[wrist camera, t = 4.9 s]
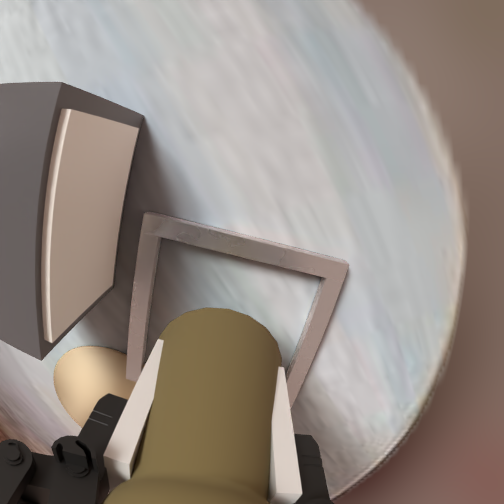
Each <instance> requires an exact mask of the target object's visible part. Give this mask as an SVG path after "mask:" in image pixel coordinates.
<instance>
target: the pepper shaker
mask: <svg viewBox="0 0 504 504" xmlns="http://www.w3.org/2000/svg"><path fill="white" fill-rule="evenodd" d="M159 339H160V340H164V342H163V347H162V352H161V358H160V363H159V369H158V374H157V380H156V386H155V392H154V399H153V402H152V405H151V408H150V412H149V415H148V418H147V422H146V425H145V428H144V432H143V435H142V438H141V442H140V445H139V449H138V452H137V456H136V460H135V463H134V467H133V470H132V476H131V479H129V480H127V481H125V482H123V483H121V484H120V485H118V486H117V487H116V488H114V489H113V490H111V492H110V493H109V494H108V495H107V497H106V498H105V499H104V500H103V502H102V503H101V504H270V503H269V502H268V501H267V498H268V490H269V480H270V453H271V421H272V414H273V406H274V399H275V391H276V383H277V375H278V367H281V362H282V358H281V354H280V351H279V347H278V344H277V342H276V340H275V339H274V338H273V336H272V335H271V334H270V332H269V331H268V330H267V328H266V327H264V326H263V325H261V324H260V323H259V322H257V321H256V320H254V319H253V318H251V317H250V316H248V315H245V314H242V313H239V312H236V311H233V310H230V309H222V308H203V309H198V310H194V311H190V312H186V313H184V314H183V315H181V316H179V317H178V318H176V319H174V320H173V321H171V322H170V323H169V324H168V326H167V327H166V328H165V329H164V331H163V332H162V333H161V335H160V337H159Z"/></svg>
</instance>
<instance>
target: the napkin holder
mask: <svg viewBox="0 0 504 504" xmlns="http://www.w3.org/2000/svg"><path fill="white" fill-rule="evenodd" d="M143 116H144V115H141V114H139V113H137V112H135V111H132V110H130V109H128V108H125V107H123V106H121V105H118V104H116V103H113V102H111V101H109V100H106V99H104V98H101V97H99V96H96V95H94V94H91V93H89V92H86V91H84V90H81V89H79V88H76V87H73V86H71V85H68V84H65V83H63V82H26V83H6V84H0V340H2V341H4V342H6V343H8V344H9V345H11V346H13V347H15V348H17V349H19V350H21V351H23V352H25V353H27V354H29V355H31V356H33V357H35V358H37V359H39V360H41V361H42V360H43V359H44V357H45V356H46V355H47V354H48V353H49V352H50V351H51V350H52V349H53V348H54V347H55V346H56V345H57V344H58V343H59V342H60V341H61V340H62V338H63V337H64V336H65V335H66V334H67V333H68V332H69V331H70V330H71V329H72V328H73V327H74V326H75V325H76V324H77V323H78V322H79V321H80V320H81V319H82V318H83V317H84V316H85V315H86V314H87V313H88V312H89V311H90V310H91V309H92V308H93V307H94V306H95V305H96V304H97V303H98V302H99V301H100V300H101V299H102V298H103V297H105V296H106V295H107V294H108V293H109V292H110V291H111V290H112V289H113V288H114V277H115V267H116V258H117V250H118V242H119V235H120V228H121V221H122V215H123V209H124V203H125V197H126V192H127V186H128V181H129V176H130V171H131V166H132V162H133V157H134V153H135V148H136V144H137V140H138V136H139V131H140V127H141V124H142V120H143Z"/></svg>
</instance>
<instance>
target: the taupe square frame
mask: <svg viewBox="0 0 504 504" xmlns="http://www.w3.org/2000/svg"><path fill="white" fill-rule="evenodd" d="M162 238H166V239H170V240H174V241H178V242H182V243H186V244H190V245H194V246H198V247H202V248H206V249H210V250H214V251H218V252H222V253H227V254H231V255H235V256H239V257H243V258H247V259H251V260H255V261H259V262H263V263H267V264H271V265H275V266H279V267H283V268H288V269H292V270H296V271H300V272H304V273H308V274H312V275H316V276H320V277H322V278H321V281H320V284H319V287H318V290H317V293H316V295H315V298H314V301H313V304H312V307H311V310H310V312H309V315H308V318H307V321H306V323H305V326H304V329H303V331H302V334H301V337H300V339H299V342H298V345H297V347H296V350H295V352H294V355H293V358H292V360H291V363H290V365H289V368H288V370H287V373H286V375H285V378H286V384H287V391H288V397H289V404H290V410H291V407H292V405H293V403H294V401H295V399H296V397H297V395H298V392H299V390H300V388H301V386H302V384H303V381H304V379H305V377H306V375H307V372H308V370H309V368H310V365H311V363H312V361H313V358H314V356H315V354H316V351H317V349H318V346H319V344H320V342H321V339H322V337H323V334H324V332H325V329H326V327H327V324H328V322H329V319H330V316H331V314H332V311H333V309H334V306H335V303H336V301H337V298H338V295H339V292H340V290H341V287H342V284H343V281H344V279H345V276H346V273H347V270H348V267H349V264H348V263H347V262H346V261H345V260H342V259H338V258H334V257H330V256H327V255H323V254H319V253H315V252H311V251H307V250H303V249H299V248H296V247H292V246H288V245H284V244H280V243H276V242H272V241H268V240H264V239H260V238H256V237H252V236H248V235H244V234H240V233H236V232H232V231H228V230H224V229H220V228H216V227H212V226H208V225H204V224H200V223H196V222H192V221H187V220H183V219H179V218H175V217H171V216H167V215H163V214H158V213H154V212H150V211H148V212H146V213H144V216H143V222H142V227H141V233H140V240H139V246H138V253H137V260H136V267H135V275H134V283H133V291H132V300H131V310H130V321H129V333H128V348H127V365H126V379H128V380H131V381H135V382H137V381H138V379H139V377H140V375H141V373H142V371H143V366H144V363H145V352H146V343H147V334H148V325H149V317H150V309H151V302H152V295H153V288H154V281H155V274H156V268H157V262H158V256H159V250H160V245H161V239H162Z"/></svg>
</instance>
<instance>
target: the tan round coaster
mask: <svg viewBox="0 0 504 504" xmlns="http://www.w3.org/2000/svg"><path fill="white" fill-rule="evenodd" d="M126 365H127V354H125V353H122V352H119V351H117V350H113V349H110V348H106V347H100V346H81V347H77V348H74V349H72V350H69V351H68V352H66V353H65V354H64V355H63V356H62V357H61V358H60V359H59V361H58V362H57V364H56V366H55V370H54V386H55V390H56V393H57V396H58V398H59V400H60V402H61V404H62V405H63V407H64V408H65V410H66V411H67V413H68V414H69V415H70V416H71V417H72V419H73V420H74V421H75V422H76V423H77V424H78V425H79V426H81V427H82V428H83V426H84V425H85V423H86V421H87V419H88V418H89V416H90V414H91V412H92V411H93V409H94V407H95V405H96V403H97V402H98V400H99V399H100V398H102V397H103V396H105V395H106V394H108V393H110V394H113V395H116V396H119V397H122V398H125V399H128V400H129V398H130V396H131V393H132V391H133V389H134V387H135V385H136V383H137V382H135V381H131V380H128V379H126ZM144 366H145V364H144ZM144 366H143V368H144Z"/></svg>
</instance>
